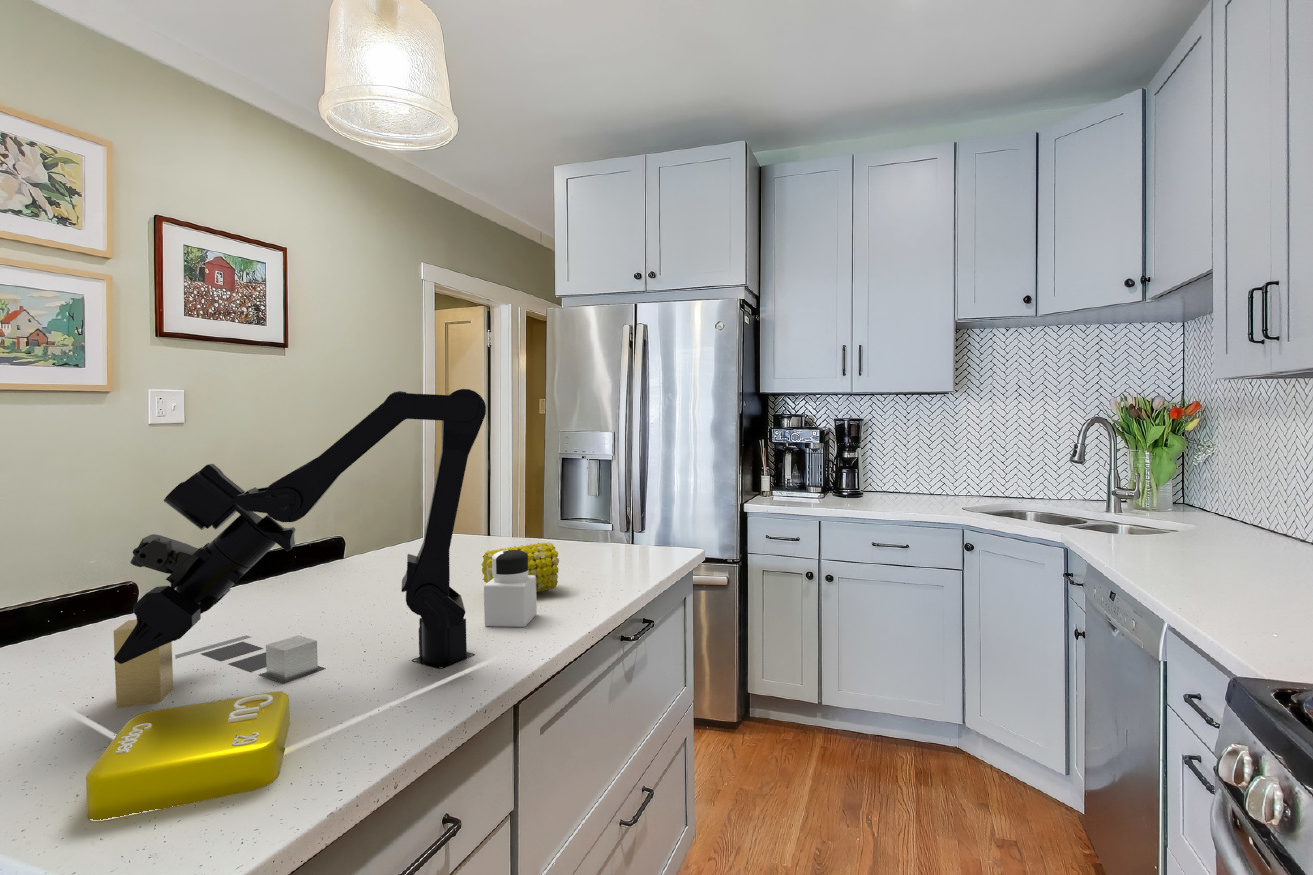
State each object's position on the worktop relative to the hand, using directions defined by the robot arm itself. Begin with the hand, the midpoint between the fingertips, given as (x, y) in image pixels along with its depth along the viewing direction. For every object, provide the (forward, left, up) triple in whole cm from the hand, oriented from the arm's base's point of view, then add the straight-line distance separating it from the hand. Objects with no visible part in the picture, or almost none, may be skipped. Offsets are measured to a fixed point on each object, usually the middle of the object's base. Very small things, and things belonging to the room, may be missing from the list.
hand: (132, 648), depth 82 cm
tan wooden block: (-1, -1, -7) cm, 7 cm away
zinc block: (-9, -15, -6) cm, 18 cm away
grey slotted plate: (0, -15, -7) cm, 16 cm away
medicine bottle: (-18, -48, -7) cm, 52 cm away
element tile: (-24, +3, -8) cm, 25 cm away
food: (-8, -61, -7) cm, 62 cm away
